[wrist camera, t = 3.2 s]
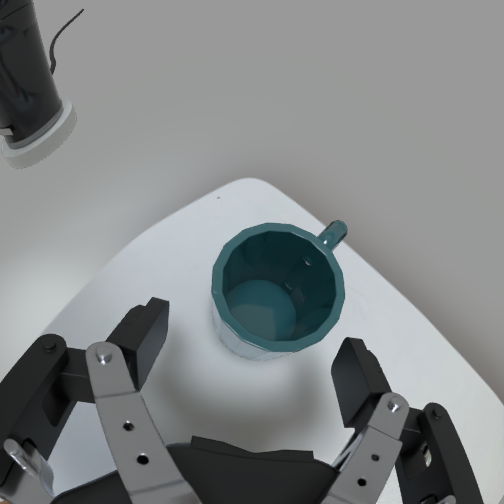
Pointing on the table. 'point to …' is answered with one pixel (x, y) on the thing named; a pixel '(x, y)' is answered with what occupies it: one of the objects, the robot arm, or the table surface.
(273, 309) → the mug
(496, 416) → the table surface
